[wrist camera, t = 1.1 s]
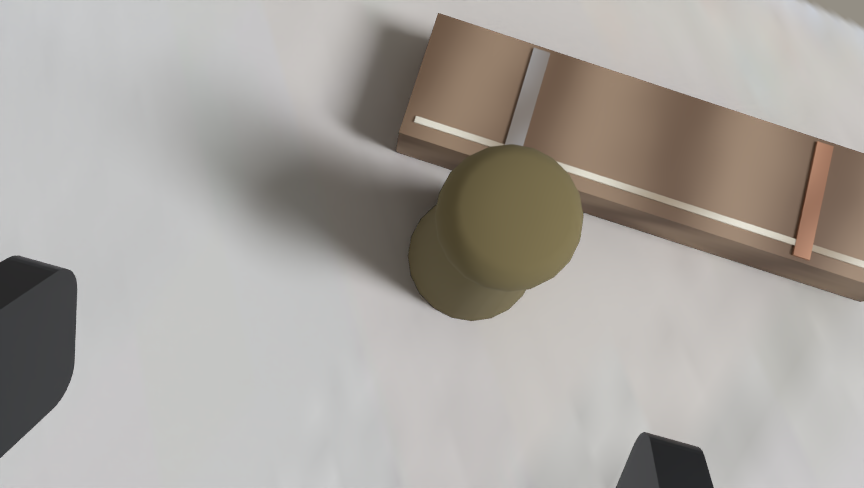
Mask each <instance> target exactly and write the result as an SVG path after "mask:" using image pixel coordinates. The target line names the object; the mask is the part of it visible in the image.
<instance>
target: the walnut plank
mask: <svg viewBox="0 0 864 488" xmlns="http://www.w3.org/2000/svg"><path fill="white" fill-rule="evenodd" d="M509 144H515V145H520V146H525V147H530V148H535V149H536V150H538V151H540V152H542V153H544V154H546V155H548V156H550V157H551V158H553V159H554V160H555V161H556V162H557V163H558V164H559V165H560V166H561V167H562V168H563V169H564V170H565V171H566V172H567V173H568V174H569V175H570V177H571V179H572V181H573V182H574V184H575V186H576V188H577V190H578V192H579V194H580V199H581V205H582V210H583V212H584V213H587V214H590V215H593V216H596V217H599V218H602V219H606V220H609V221H612V222H615V223H618V224H621V225H624V226H627V227H630V228H633V229H637V230H640V231H643V232H646V233H649V234H652V235H655V236H658V237H661V238H664V239H668V240H671V241H674V242H677V243H680V244H683V245H686V246H689V247H692V248H695V249H699V250H702V251H705V252H708V253H711V254H714V255H717V256H720V257H723V258H726V259H730V260H733V261H736V262H739V263H742V264H745V265H748V266H751V267H754V268H757V269H761V270H764V271H767V272H770V273H773V274H776V275H779V276H782V277H785V278H788V279H792V280H795V281H798V282H801V283H804V284H807V285H810V286H813V287H816V288H819V289H823V290H826V291H829V292H832V293H835V294H838V295H841V296H844V297H847V298H850V299H853V300H857V301H860V302H861V301H864V153H861V152H858V151H855V150H852V149H849V148H846V147H843V146H840V145H837V144H834V143H831V142H827V141H824V140H821V139H818V138H815V137H812V136H809V135H806V134H803V133H800V132H797V131H794V130H791V129H788V128H785V127H782V126H779V125H776V124H773V123H770V122H767V121H764V120H761V119H758V118H755V117H752V116H749V115H746V114H743V113H740V112H737V111H734V110H731V109H728V108H725V107H721V106H718V105H715V104H712V103H709V102H706V101H703V100H700V99H697V98H694V97H691V96H688V95H685V94H682V93H679V92H676V91H673V90H670V89H667V88H664V87H661V86H658V85H655V84H652V83H649V82H646V81H643V80H640V79H637V78H634V77H631V76H628V75H625V74H622V73H619V72H615V71H612V70H609V69H606V68H603V67H600V66H597V65H594V64H591V63H588V62H585V61H582V60H579V59H576V58H573V57H570V56H567V55H564V54H561V53H558V52H555V51H552V50H549V49H546V48H543V47H540V46H537V45H534V44H531V43H528V42H525V41H522V40H519V39H516V38H513V37H510V36H506V35H503V34H500V33H497V32H494V31H491V30H488V29H485V28H482V27H479V26H476V25H473V24H470V23H467V22H464V21H461V20H458V19H455V18H452V17H449V16H446V15H443V14H440V13H438V15H437V18H436V21H435V24H434V27H433V30H432V33H431V36H430V39H429V42H428V45H427V48H426V52H425V55H424V58H423V61H422V64H421V67H420V70H419V73H418V76H417V79H416V82H415V85H414V88H413V91H412V94H411V97H410V100H409V103H408V106H407V109H406V112H405V115H404V118H403V121H402V124H401V127H400V130H399V135H398V141H397V148H396V152H398V153H401V154H404V155H407V156H410V157H413V158H416V159H420V160H423V161H426V162H429V163H432V164H435V165H438V166H441V167H444V168H447V169H451V170H453V169H455V168H456V167H457V166H458V165H459V164H460V163H461V162H462V161H463V160H464V159H465V158H466V157H468V156H470V155H472V154H474V153H477V152H479V151H481V150H483V149H485V148H488V147H492V146H500V145H509Z"/></svg>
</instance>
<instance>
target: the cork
mask: <svg viewBox="0 0 864 488" xmlns="http://www.w3.org/2000/svg"><path fill="white" fill-rule="evenodd" d="M582 223H583V210H582V205H581V199H580V194H579V192H578V190H577V188H576V186H575V184H574V182H573V181H572V179H571V177H570V175H569V174H568V173H567V172H566V171H565V170H564V169H563V168H562V167H561V166H560V165H559V164H558V163H557V162H556V161H555V160H554V159H553V158H551V157H550V156H548V155H546V154H544V153H542V152H540V151H538V150H536V149H535V148H530V147H525V146H520V145H515V144H509V145H500V146H492V147H488V148H485V149H483V150H481V151H479V152H477V153H474V154H472V155H470V156H468V157H466V158H465V159H464V160H463V161H462V162H461V163H460V164H459V165H458V166H457V167H456V168H455V169H453V170H452V171H451V172H450V174H449V176H448V178H447V180H446V182H445V183H444V185H443V187H442V189H441V191H440V193H439V196H438V201H437V205H435V206H434V207H433V208H432V209H431V210H430V211H429V212H428V213H427V214H426V215H425V216H423V217H422V218H421V220H420V221H419V223H418V225H417V227H416V229H415V231H414V232H413V234H412V236H411V242H410V247H409V253H408V259H409V266H410V273H411V277H412V279H413V281H414V283H415V285H416V287H417V289H418V291H419V293H420V294H421V295H422V296H423V297H424V298H425V299H426V300H427V301H428V303H429V304H430V305H431V306H432V307H433V308H435V309H437V310H439V311H440V312H442V313H444V314H446V315H448V316H450V317H452V318H457V319H463V320H469V321H475V320H482V319H489V318H492V317H494V316H496V315H498V314H500V313H502V312H504V311H506V310H508V309H510V308H511V307H512V306H513V305H514V304H515V303H516V302H517V301H518V300H519V299H520V298H521V297H522V296H523V294H524V292H525V291H526V289H531V288H533V287H535V286H537V285H539V284H541V283H543V282H545V281H547V280H549V279H551V278H553V277H555V276H556V275H557V274H558V273H559V272H560V271H561V270H562V269H563V268H564V267H565V266H566V265H567V264H568V263H569V262H570V260H571V258H572V256H573V254H574V252H575V250H576V247H577V245H578V243H579V241H580V237H581V230H582Z"/></svg>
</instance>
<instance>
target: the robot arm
mask: <svg viewBox="0 0 864 488" xmlns="http://www.w3.org/2000/svg"><path fill="white" fill-rule="evenodd" d="M76 306H77V281H76V278H75V275H74V274H73V272H72V271H70V270H68V269H65V268H61V267H58V266H54V265H50V264H47V263H43V262H40V261H36V260H32V259H29V258H25V257H22V256H11V257H9V258H7V259H5V260H3V261H2V262H0V458H1V457H2V456H3V455H4V454H5V453H6V452H7V451H8V450H9V449H11V448H12V447H13V446H14V445H15V444H16V443H17V442H18V441H19V440H20V439H21V438H22V437H23V436H24V435H25V434H27V433H28V432H29V431H30V430H31V429H32V428H33V427H34V426H35V425H36V424H37V423H38V422H39V421H40V420H41V419H43V418H44V417H45V416H46V415H47V414H48V413H49V412H50V411H51V410H52V409H53V408H54V407H55V406H56V405H57V404H58V402H59V401H60V400H61V398H62V397H63V395H64V393H65V391H66V390H67V387H68V385H69V383H70V380H71V377H72V374H73V369H74V361H75V334H76ZM616 488H714V487H713V484H712V481H711V477H710V474H709V470H708V467H707V463H706V460H705V457H704V454H703V451H702V450H701V449H700V448H699V447H696V446H693V445H689V444H686V443H682V442H678V441H675V440H671V439H668V438H664V437H661V436H657V435H653V434H650V433H646V432H643V433H641V434H640V435H639V437H638V438H637V440H636V442H635V444H634V446H633V448H632V450H631V453H630V455H629V458H628V460H627V462H626V465H625V467H624V469H623V472H622V474H621V477H620V479H619V481H618V484H617V486H616Z"/></svg>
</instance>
